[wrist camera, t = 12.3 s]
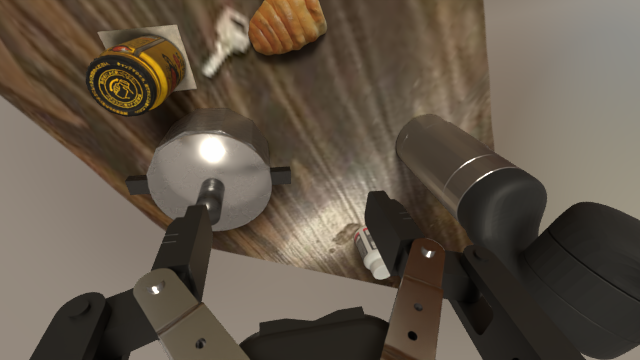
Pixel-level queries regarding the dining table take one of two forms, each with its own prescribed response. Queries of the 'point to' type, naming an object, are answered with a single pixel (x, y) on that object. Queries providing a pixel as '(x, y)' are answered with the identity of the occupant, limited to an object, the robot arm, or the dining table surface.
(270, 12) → the pastry
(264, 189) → the lid
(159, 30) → the condiment
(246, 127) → the pot
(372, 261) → the pill bottle
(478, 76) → the dining table surface
